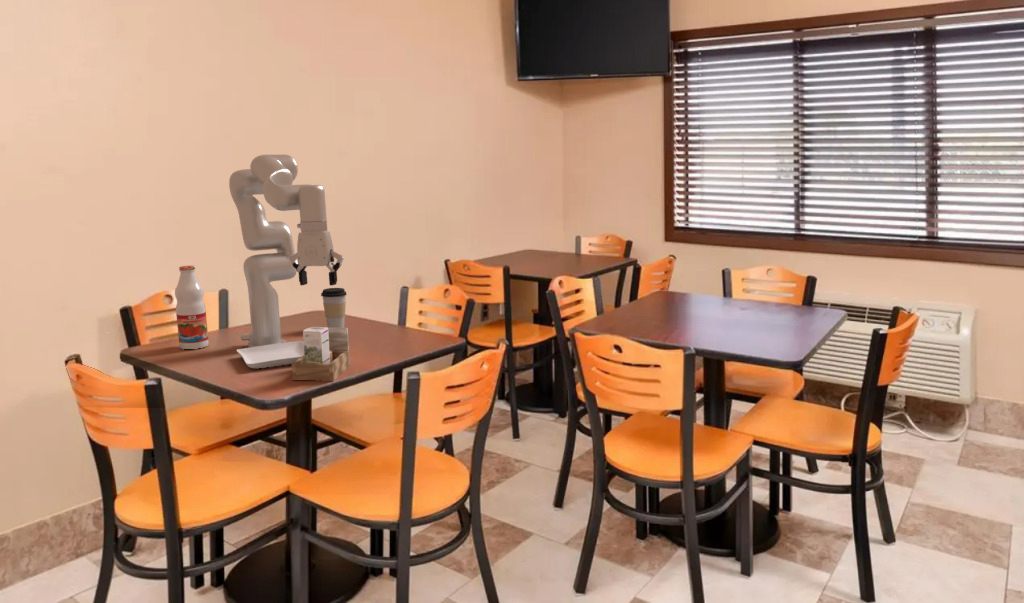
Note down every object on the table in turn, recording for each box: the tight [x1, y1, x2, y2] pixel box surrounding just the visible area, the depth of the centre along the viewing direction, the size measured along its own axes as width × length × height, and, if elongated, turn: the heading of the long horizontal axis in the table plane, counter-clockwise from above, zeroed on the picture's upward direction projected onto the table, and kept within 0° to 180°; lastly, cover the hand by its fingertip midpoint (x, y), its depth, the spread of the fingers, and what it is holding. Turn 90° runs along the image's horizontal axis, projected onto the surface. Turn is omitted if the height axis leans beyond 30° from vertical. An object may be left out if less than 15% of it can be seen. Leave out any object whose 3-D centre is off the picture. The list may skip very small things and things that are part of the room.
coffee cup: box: [320, 287, 347, 328], centre depth 291 cm, size 9×9×15 cm
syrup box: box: [302, 326, 330, 364], centre depth 227 cm, size 6×6×14 cm
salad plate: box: [236, 340, 304, 370], centre depth 248 cm, size 21×21×3 cm
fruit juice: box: [174, 265, 210, 350], centre depth 264 cm, size 9×9×28 cm
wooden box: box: [291, 327, 351, 382], centre depth 231 cm, size 17×12×12 cm
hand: (318, 284), depth 231 cm, fingers open, 9 cm apart
